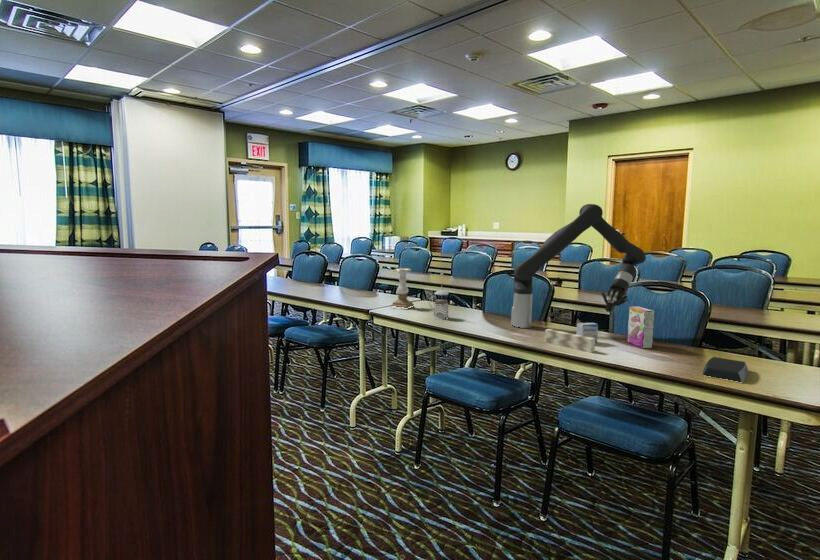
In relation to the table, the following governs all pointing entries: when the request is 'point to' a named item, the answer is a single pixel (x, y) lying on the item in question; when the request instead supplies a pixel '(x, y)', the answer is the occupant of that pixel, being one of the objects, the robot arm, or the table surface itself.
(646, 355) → the table surface
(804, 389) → the table surface
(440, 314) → the french press
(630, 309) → the candy bar box
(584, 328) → the medicine box
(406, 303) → the candle holder
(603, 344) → the table surface
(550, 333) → the birch board
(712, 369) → the external hard drive
